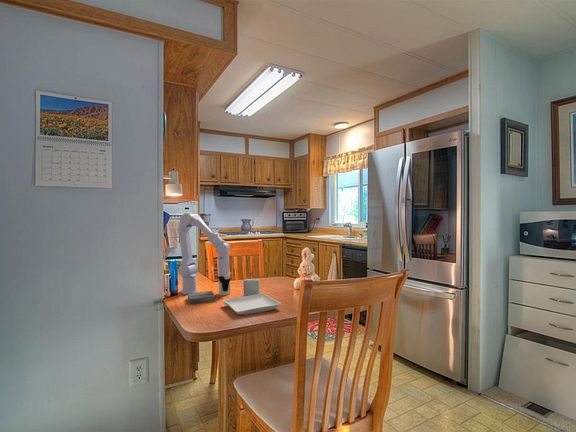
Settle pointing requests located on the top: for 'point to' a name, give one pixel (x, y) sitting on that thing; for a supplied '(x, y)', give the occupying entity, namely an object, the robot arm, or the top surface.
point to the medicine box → (251, 287)
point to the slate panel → (201, 297)
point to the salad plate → (252, 304)
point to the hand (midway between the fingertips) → (224, 290)
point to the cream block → (222, 289)
